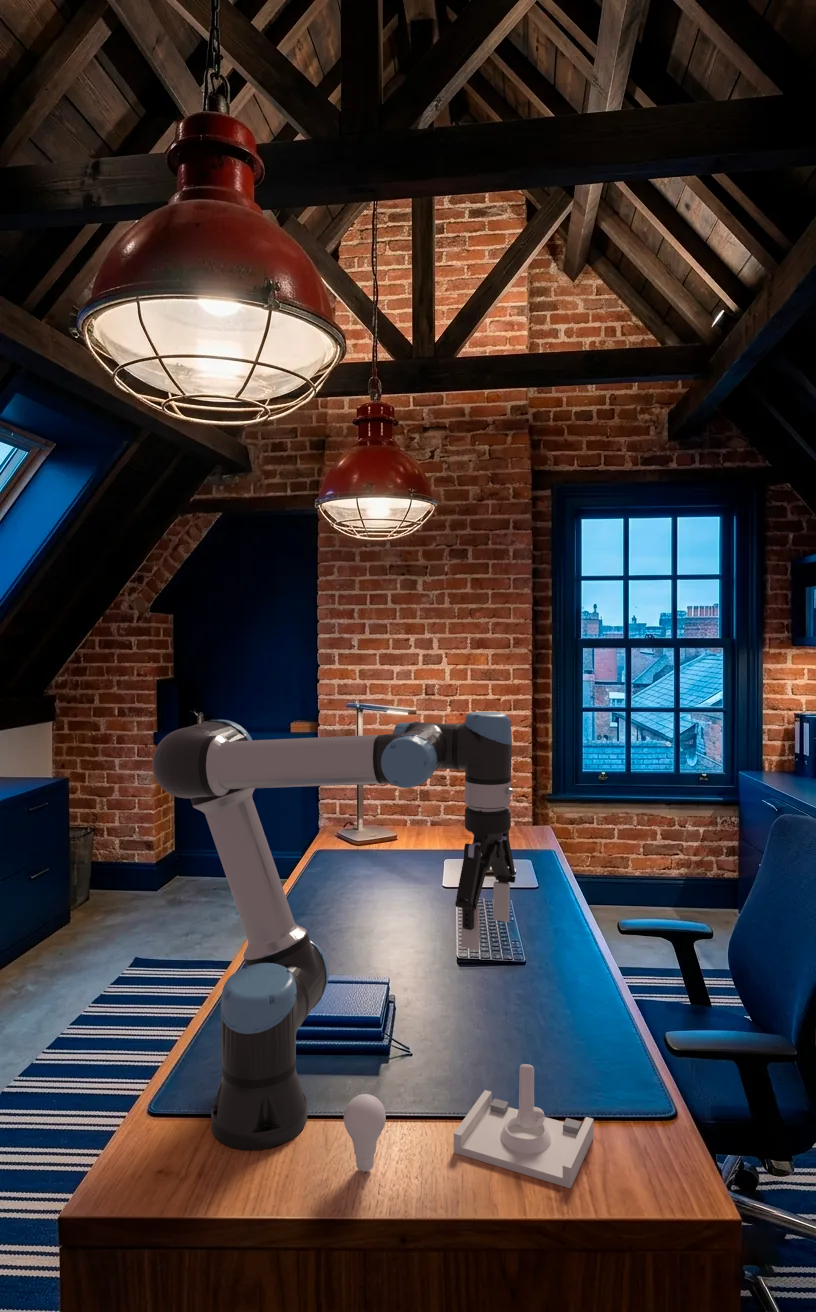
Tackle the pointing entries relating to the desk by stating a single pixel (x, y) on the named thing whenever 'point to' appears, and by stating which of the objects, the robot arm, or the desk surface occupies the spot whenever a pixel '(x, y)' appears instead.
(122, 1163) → the desk surface
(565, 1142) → the panel
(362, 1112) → the lightbulb
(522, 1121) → the hook
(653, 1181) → the desk surface
